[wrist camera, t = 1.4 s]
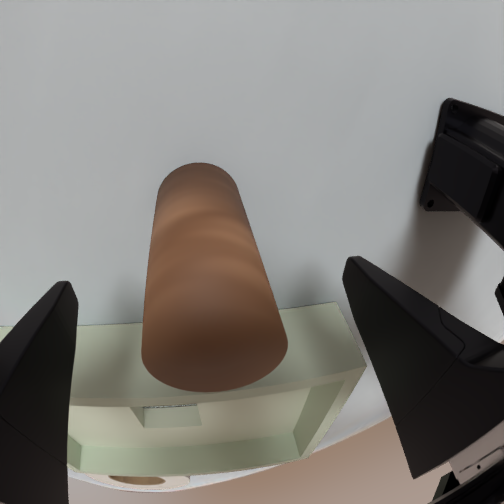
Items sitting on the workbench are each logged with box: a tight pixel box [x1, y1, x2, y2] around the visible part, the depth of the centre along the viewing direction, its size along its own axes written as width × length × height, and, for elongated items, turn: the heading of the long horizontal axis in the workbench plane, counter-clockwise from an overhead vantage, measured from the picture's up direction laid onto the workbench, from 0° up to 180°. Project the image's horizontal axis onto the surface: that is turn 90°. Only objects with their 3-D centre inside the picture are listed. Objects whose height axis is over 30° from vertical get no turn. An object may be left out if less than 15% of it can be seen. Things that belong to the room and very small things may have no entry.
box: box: [0, 302, 367, 477], centre depth 21 cm, size 24×18×5 cm
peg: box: [141, 163, 288, 392], centre depth 11 cm, size 4×4×8 cm
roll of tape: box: [85, 473, 190, 490], centre depth 34 cm, size 16×15×3 cm
